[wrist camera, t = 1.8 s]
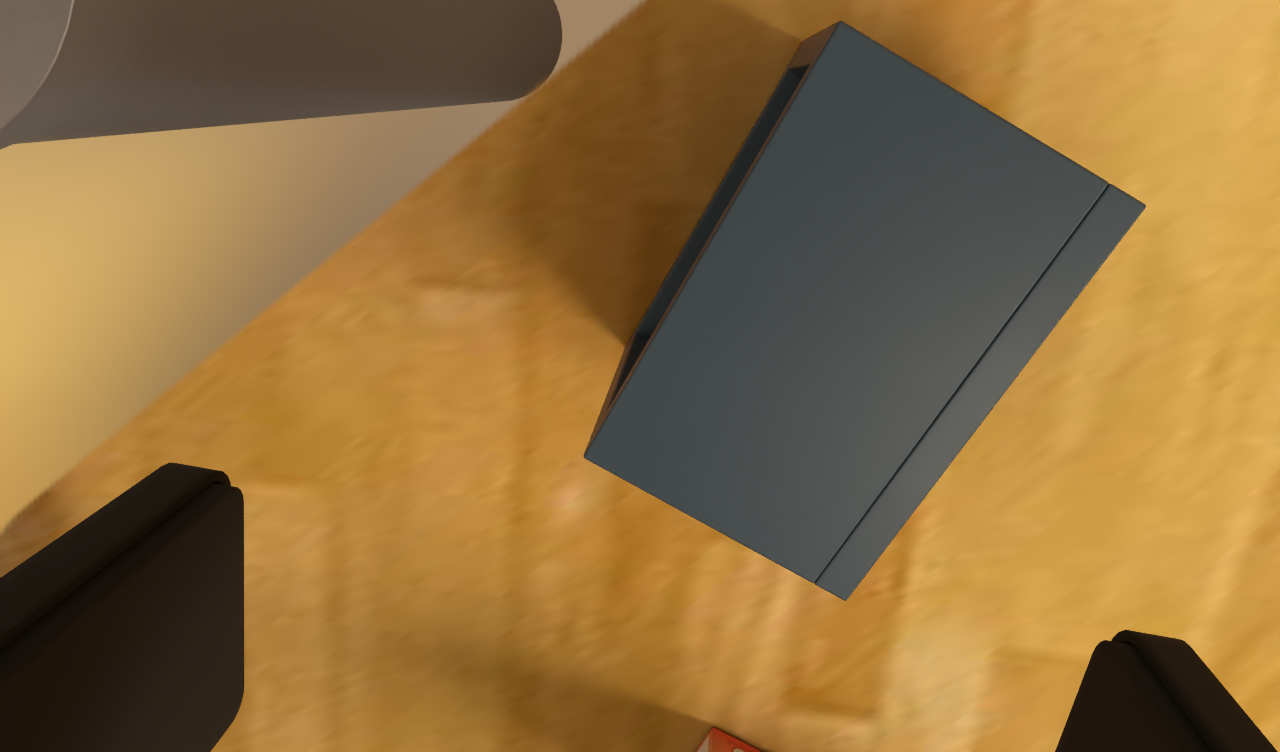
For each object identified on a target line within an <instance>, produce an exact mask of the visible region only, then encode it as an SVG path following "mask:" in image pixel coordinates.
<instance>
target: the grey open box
mask: <svg viewBox="0 0 1280 752" xmlns="http://www.w3.org/2000/svg"><path fill="white" fill-rule="evenodd" d="M1145 207H1146V205H1145V204H1143V203H1142V202H1140V201H1139V200H1137V199H1135V198H1134V197H1132V196H1130V195H1129V194H1127V193H1125V192H1124V191H1122V190H1120V189H1119V188H1117V187H1115V186H1114V185H1112V184H1109V183H1108V182H1107V181H1105V180H1104V179H1102V178H1100V177H1099V176H1097V175H1095V174H1094V173H1092V172H1091V171H1089V170H1087V169H1086V168H1084V167H1082V166H1081V165H1079V164H1077V163H1076V162H1074V161H1072V160H1071V159H1069V158H1067V157H1066V156H1064V155H1062V154H1061V153H1059V152H1058V151H1056V150H1054V149H1053V148H1051V147H1049V146H1048V145H1046V144H1044V143H1043V142H1041V141H1039V140H1038V139H1036V138H1034V137H1033V136H1031V135H1029V134H1028V133H1026V132H1024V131H1023V130H1021V129H1020V128H1018V127H1016V126H1015V125H1013V124H1011V123H1010V122H1008V121H1006V120H1005V119H1003V118H1001V117H1000V116H998V115H996V114H995V113H993V112H991V111H990V110H988V109H987V108H985V107H983V106H982V105H980V104H978V103H977V102H975V101H973V100H972V99H970V98H968V97H967V96H965V95H963V94H962V93H960V92H958V91H957V90H955V89H953V88H952V87H950V86H949V85H947V84H945V83H944V82H942V81H940V80H939V79H937V78H935V77H934V76H932V75H930V74H929V73H927V72H925V71H924V70H922V69H920V68H919V67H917V66H915V65H914V64H912V63H911V62H909V61H907V60H906V59H904V58H902V57H901V56H899V55H897V54H896V53H894V52H892V51H891V50H889V49H887V48H886V47H884V46H882V45H881V44H879V43H878V42H876V41H874V40H873V39H871V38H869V37H868V36H866V35H864V34H863V33H861V32H859V31H858V30H856V29H854V28H853V27H851V26H849V25H848V24H846V23H844V22H843V21H839V22H837V23H835V24H833V25H831V26H829V27H827V28H826V29H824V30H822V31H820V32H818V33H816V34H814V35H813V36H811V37H809V38H807V39H805V40H804V41H803V42H801V44H800V46H799V47H798V49H797V51H796V53H795V54H794V56H793V58H792V59H791V61H790V63H789V65H788V66H787V68H786V70H785V72H784V73H783V75H782V77H781V79H780V80H779V82H778V84H777V85H776V87H775V89H774V91H773V92H772V94H771V96H770V98H769V99H768V101H767V103H766V104H765V106H764V108H763V110H762V111H761V113H760V115H759V117H758V118H757V120H756V122H755V123H754V125H753V127H752V129H751V130H750V132H749V134H748V136H747V137H746V139H745V141H744V142H743V144H742V146H741V148H740V149H739V151H738V153H737V155H736V156H735V158H734V160H733V162H732V163H731V165H730V167H729V168H728V170H727V172H726V174H725V175H724V177H723V179H722V181H721V182H720V184H719V186H718V187H717V189H716V191H715V193H714V194H713V196H712V198H711V200H710V201H709V203H708V205H707V206H706V208H705V210H704V212H703V213H702V215H701V217H700V219H699V220H698V222H697V224H696V225H695V227H694V229H693V231H692V232H691V234H690V236H689V238H688V239H687V241H686V243H685V245H684V246H683V248H682V250H681V251H680V253H679V255H678V257H677V258H676V260H675V262H674V264H673V265H672V267H671V269H670V270H669V272H668V274H667V276H666V277H665V279H664V281H663V283H662V284H661V286H660V288H659V289H658V291H657V293H656V295H655V296H654V298H653V300H652V302H651V303H650V305H649V307H648V309H647V310H646V312H645V314H644V315H643V317H642V319H641V321H640V322H639V324H638V326H637V328H636V329H635V331H634V333H633V334H632V336H631V338H630V340H629V341H628V343H627V345H626V347H625V349H624V352H623V355H622V357H621V360H620V362H619V365H618V368H617V370H616V373H615V375H614V378H613V381H612V383H611V386H610V388H609V391H608V394H607V396H606V399H605V401H604V404H603V407H602V409H601V412H600V414H599V417H598V420H597V422H596V425H595V427H594V430H593V433H592V435H591V438H590V441H589V443H588V445H587V448H586V451H585V453H584V458H585V459H587V460H589V461H591V462H592V463H594V464H596V465H598V466H600V467H602V468H603V469H605V470H607V471H609V472H611V473H613V474H614V475H616V476H618V477H620V478H622V479H623V480H625V481H627V482H629V483H631V484H633V485H634V486H636V487H638V488H640V489H642V490H644V491H645V492H647V493H649V494H651V495H653V496H655V497H656V498H658V499H660V500H662V501H664V502H666V503H667V504H669V505H671V506H673V507H675V508H677V509H678V510H680V511H682V512H684V513H686V514H688V515H689V516H691V517H693V518H695V519H697V520H698V521H700V522H702V523H704V524H706V525H708V526H709V527H711V528H713V529H715V530H717V531H719V532H720V533H722V534H724V535H726V536H728V537H730V538H731V539H733V540H735V541H737V542H739V543H741V544H742V545H744V546H746V547H748V548H750V549H752V550H753V551H755V552H757V553H759V554H761V555H763V556H764V557H766V558H768V559H770V560H772V561H773V562H775V563H777V564H779V565H781V566H783V567H784V568H786V569H788V570H790V571H792V572H794V573H795V574H797V575H799V576H801V577H803V578H805V579H806V580H808V581H810V582H812V583H815V585H817V586H819V587H821V588H823V589H824V590H826V591H828V592H830V593H832V594H834V595H835V596H837V597H839V598H841V599H843V600H845V601H846V600H847V599H848V598H849V596H850V595H851V594H852V592H853V591H854V590H855V588H856V587H857V586H858V584H859V583H860V582H861V581H862V579H863V578H864V577H865V575H866V574H867V573H868V571H869V570H870V569H871V567H872V566H873V565H874V563H875V562H876V561H877V559H878V558H879V557H880V556H881V554H882V553H883V552H884V550H885V549H886V548H887V546H888V545H889V544H890V542H891V541H892V540H893V538H894V537H895V536H896V535H897V533H898V532H899V531H900V529H901V528H902V527H903V525H904V524H905V523H906V521H907V520H908V519H909V517H910V516H911V515H912V514H913V512H914V511H915V510H916V508H917V507H918V506H919V504H920V503H921V502H922V500H923V499H924V498H925V496H926V495H927V494H928V493H929V491H930V490H931V489H932V487H933V486H934V485H935V483H936V482H937V481H938V479H939V478H940V477H941V475H942V474H943V473H944V472H945V470H946V469H947V468H948V466H949V465H950V464H951V462H952V461H953V460H954V458H955V457H956V456H957V454H958V453H959V452H960V451H961V449H962V448H963V447H964V445H965V444H966V443H967V441H968V440H969V439H970V437H971V436H972V435H973V433H974V432H975V431H976V429H977V428H978V427H979V426H980V424H981V423H982V422H983V420H984V419H985V418H986V416H987V415H988V414H989V412H990V411H991V410H992V408H993V407H994V406H995V405H996V403H997V402H998V401H999V399H1000V398H1001V397H1002V395H1003V394H1004V393H1005V391H1006V390H1007V389H1008V387H1009V386H1010V385H1011V384H1012V382H1013V381H1014V380H1015V378H1016V377H1017V376H1018V374H1019V373H1020V372H1021V370H1022V369H1023V368H1024V366H1025V365H1026V364H1027V363H1028V361H1029V360H1030V359H1031V357H1032V356H1033V355H1034V353H1035V352H1036V351H1037V349H1038V348H1039V347H1040V345H1041V344H1042V343H1043V342H1044V340H1045V339H1046V338H1047V336H1048V335H1049V334H1050V332H1051V331H1052V330H1053V328H1054V327H1055V326H1056V324H1057V323H1058V322H1059V321H1060V319H1061V318H1062V317H1063V315H1064V314H1065V313H1066V311H1067V310H1068V309H1069V307H1070V306H1071V305H1072V303H1073V302H1074V301H1075V299H1076V298H1077V297H1078V296H1079V294H1080V293H1081V292H1082V290H1083V289H1084V288H1085V286H1086V285H1087V284H1088V282H1089V281H1090V280H1091V278H1092V277H1093V276H1094V275H1095V273H1096V272H1097V271H1098V269H1099V268H1100V267H1101V265H1102V264H1103V263H1104V261H1105V260H1106V259H1107V257H1108V256H1109V255H1110V254H1111V252H1112V251H1113V250H1114V248H1115V247H1116V246H1117V244H1118V243H1119V242H1120V240H1121V239H1122V238H1123V236H1124V235H1125V234H1126V233H1127V231H1128V230H1129V229H1130V227H1131V226H1132V225H1133V223H1134V222H1135V221H1136V219H1137V218H1138V217H1139V215H1140V214H1141V213H1142V212H1143V210H1144V209H1145Z"/></svg>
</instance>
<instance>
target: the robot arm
mask: <svg viewBox="0 0 1280 752" xmlns="http://www.w3.org/2000/svg"><path fill="white" fill-rule="evenodd" d="M243 693H244V501H243V495H242V492H241V490H240V489H239V488H237V487H232V486H231V484H230V480H229V478H228V476H227V475H226V474H225V473H224V472H223V471H217V470H212V469H206V468H200V467H195V466H189V465H183V464H177V463H168V464H166V465H163V466H162V467H160V468H159V469H157V470H156V471H154V472H153V473H151V474H150V475H149V476H147V477H146V478H144V479H143V480H141V481H140V482H138V483H137V484H136V485H134V486H133V487H131V488H130V489H128V490H127V491H125V492H124V493H123V494H121V495H120V496H118V497H117V498H115V499H114V500H112V501H111V502H110V503H108V504H107V505H105V506H104V507H102V508H101V509H99V510H98V511H97V512H95V513H94V514H92V515H91V516H89V517H88V518H86V519H85V520H84V521H82V522H81V523H79V524H78V525H76V526H75V527H74V528H72V529H71V530H69V531H68V532H66V533H65V534H63V535H62V536H61V537H59V538H58V539H56V540H55V541H53V542H52V543H50V544H49V545H48V546H46V547H45V548H43V549H42V550H40V551H39V552H37V553H36V554H35V555H33V556H32V557H30V558H29V559H27V560H26V561H24V562H23V563H22V564H20V565H19V566H17V567H16V568H14V569H13V570H11V571H10V572H9V573H7V574H6V575H4V576H3V577H1V578H0V752H210V751H211V750H212V749H213V747H214V746H215V745H216V743H217V742H218V741H219V740H220V738H221V737H222V736H223V734H224V733H225V732H226V730H227V729H228V728H229V726H230V725H231V723H232V722H233V720H234V719H235V717H236V715H237V713H238V710H239V708H240V705H241V702H242V698H243ZM1055 752H1277V750H1276V749H1275V748H1274V747H1273V746H1272V744H1271V743H1270V742H1269V741H1268V740H1267V738H1266V737H1265V736H1264V735H1263V733H1262V732H1261V731H1260V730H1259V729H1258V727H1257V726H1256V725H1255V724H1254V723H1253V721H1252V720H1251V719H1250V718H1249V717H1248V715H1247V714H1246V713H1245V712H1244V711H1243V709H1242V708H1241V707H1240V706H1239V704H1238V703H1237V702H1236V701H1235V700H1234V698H1233V697H1232V696H1231V695H1230V694H1229V692H1228V691H1227V690H1226V689H1225V688H1224V686H1223V685H1222V684H1221V683H1220V682H1219V680H1218V679H1217V678H1216V677H1215V676H1214V674H1213V673H1212V672H1211V671H1210V669H1209V668H1208V667H1207V666H1206V665H1205V663H1204V662H1203V661H1202V660H1201V659H1200V657H1199V656H1198V655H1197V654H1196V653H1195V651H1194V650H1193V649H1192V648H1191V647H1190V646H1189V645H1188V644H1187V643H1186V642H1185V641H1183V640H1179V639H1175V638H1169V637H1163V636H1158V635H1152V634H1146V633H1141V632H1135V631H1129V630H1124V631H1121V632H1118V633H1117V634H1116V635H1115V636H1114V637H1113V639H1112V641H1107V640H1105V641H1102V642H1100V643H1099V644H1098V645H1097V646H1096V648H1095V650H1094V652H1093V654H1092V656H1091V659H1090V662H1089V664H1088V667H1087V670H1086V672H1085V675H1084V678H1083V680H1082V683H1081V685H1080V688H1079V691H1078V693H1077V696H1076V699H1075V701H1074V704H1073V706H1072V709H1071V712H1070V714H1069V717H1068V720H1067V722H1066V725H1065V727H1064V730H1063V733H1062V735H1061V738H1060V741H1059V743H1058V746H1057V748H1056V751H1055Z"/></svg>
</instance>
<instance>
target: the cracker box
mask: <svg viewBox="0 0 1280 752" xmlns="http://www.w3.org/2000/svg"><path fill="white" fill-rule="evenodd" d="M696 752H761V751H759V750H758V749H756V748H753V747H751V746H749V745H748V744H746V743H744V742H741V741H739V740H738V739H736V738H734V737H732V736H730V735H728V734H726V733H724V732H722V731H720V730H718V729H716V728H712V729H711V730H710V732H709V733H708V735H707V736H706V738H705V739H704V741H703V742H702V743H701V745H700V746H699V748H698V749H697V750H696Z"/></svg>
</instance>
